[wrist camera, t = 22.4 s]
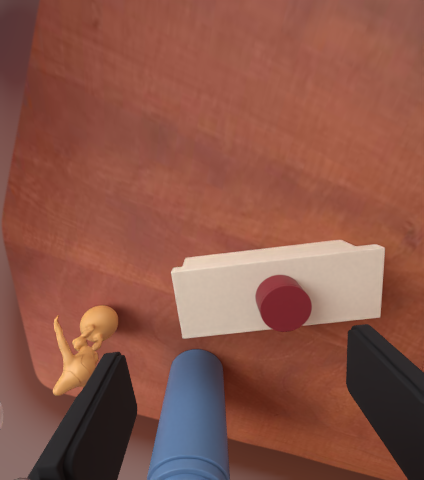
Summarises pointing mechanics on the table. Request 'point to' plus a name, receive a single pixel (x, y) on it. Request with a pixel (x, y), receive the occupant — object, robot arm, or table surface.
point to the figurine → (84, 347)
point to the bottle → (192, 422)
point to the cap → (283, 303)
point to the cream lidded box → (269, 264)
